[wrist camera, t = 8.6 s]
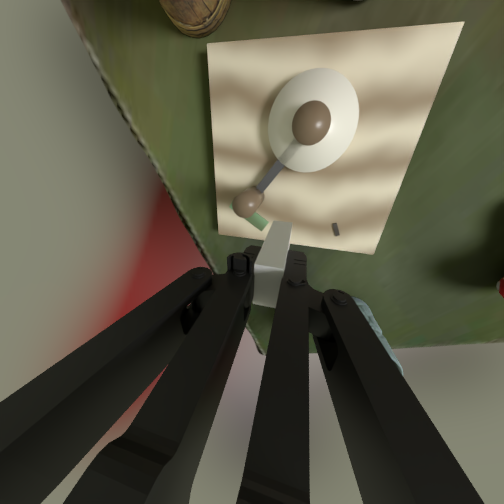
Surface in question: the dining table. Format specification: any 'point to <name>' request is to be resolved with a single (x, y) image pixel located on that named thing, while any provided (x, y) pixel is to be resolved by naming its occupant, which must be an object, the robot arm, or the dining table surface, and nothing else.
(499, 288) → the decorative mushroom
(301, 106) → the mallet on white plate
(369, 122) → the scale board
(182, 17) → the wooden mug
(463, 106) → the dining table surface
